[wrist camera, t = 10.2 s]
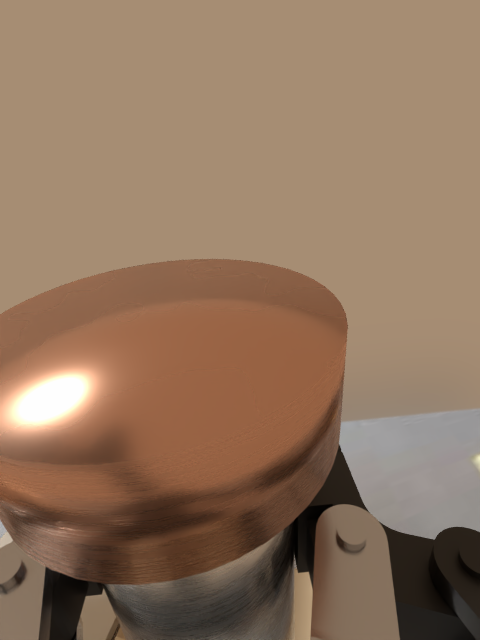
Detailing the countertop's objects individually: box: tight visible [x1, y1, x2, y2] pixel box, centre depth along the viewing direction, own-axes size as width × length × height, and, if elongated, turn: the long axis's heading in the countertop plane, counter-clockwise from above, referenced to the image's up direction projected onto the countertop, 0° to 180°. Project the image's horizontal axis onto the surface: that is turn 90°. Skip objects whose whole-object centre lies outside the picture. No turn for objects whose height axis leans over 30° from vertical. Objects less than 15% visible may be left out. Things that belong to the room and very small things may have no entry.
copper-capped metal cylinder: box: [0, 259, 348, 640], centre depth 9 cm, size 6×6×15 cm
